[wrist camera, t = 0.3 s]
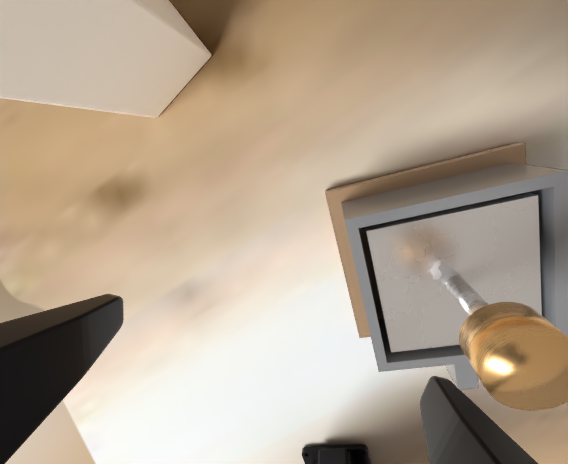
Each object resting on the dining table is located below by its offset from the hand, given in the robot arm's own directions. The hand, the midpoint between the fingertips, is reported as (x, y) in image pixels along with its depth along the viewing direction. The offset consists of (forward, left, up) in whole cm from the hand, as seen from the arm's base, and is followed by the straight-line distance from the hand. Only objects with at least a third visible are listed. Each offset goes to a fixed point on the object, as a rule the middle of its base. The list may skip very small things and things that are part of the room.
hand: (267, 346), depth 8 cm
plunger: (-4, -8, -9) cm, 13 cm away
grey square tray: (-4, -8, -14) cm, 17 cm away
